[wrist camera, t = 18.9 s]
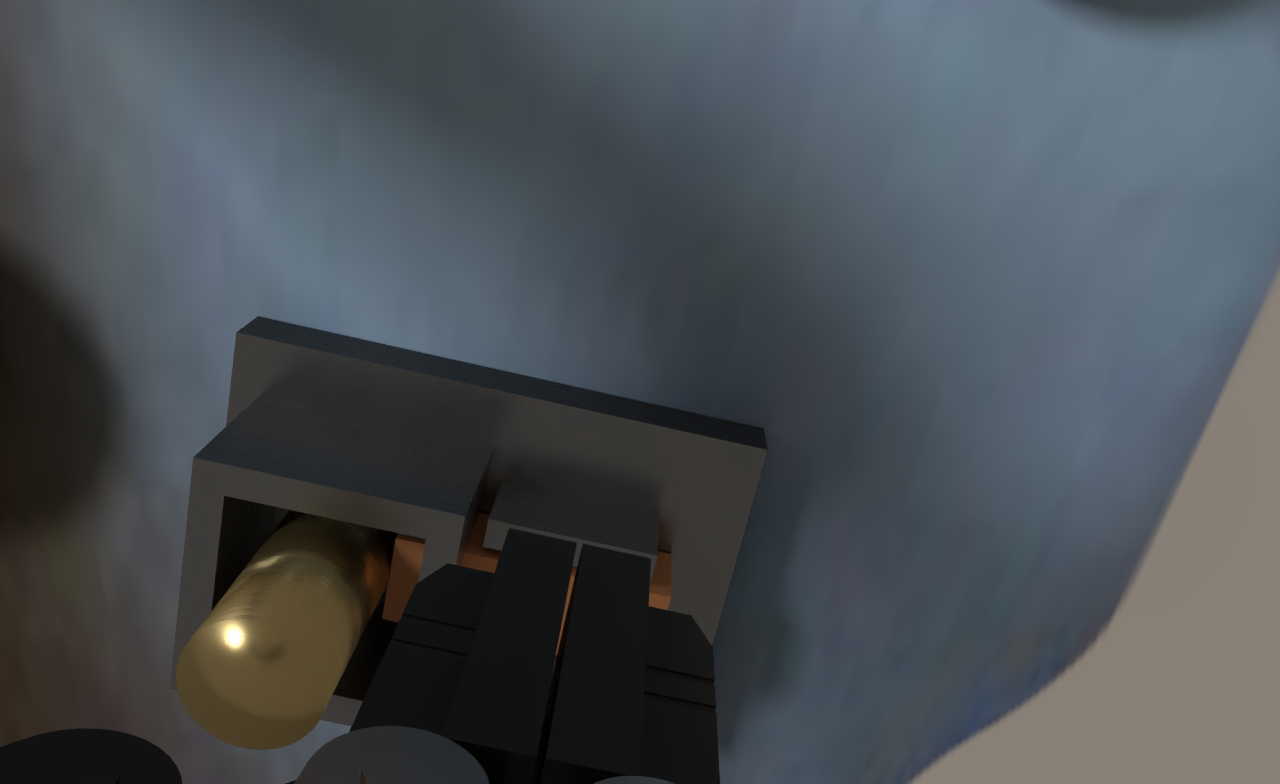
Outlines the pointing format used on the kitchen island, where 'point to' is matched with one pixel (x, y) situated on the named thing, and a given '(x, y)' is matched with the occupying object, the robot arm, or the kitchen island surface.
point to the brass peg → (285, 631)
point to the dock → (455, 472)
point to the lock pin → (486, 559)
